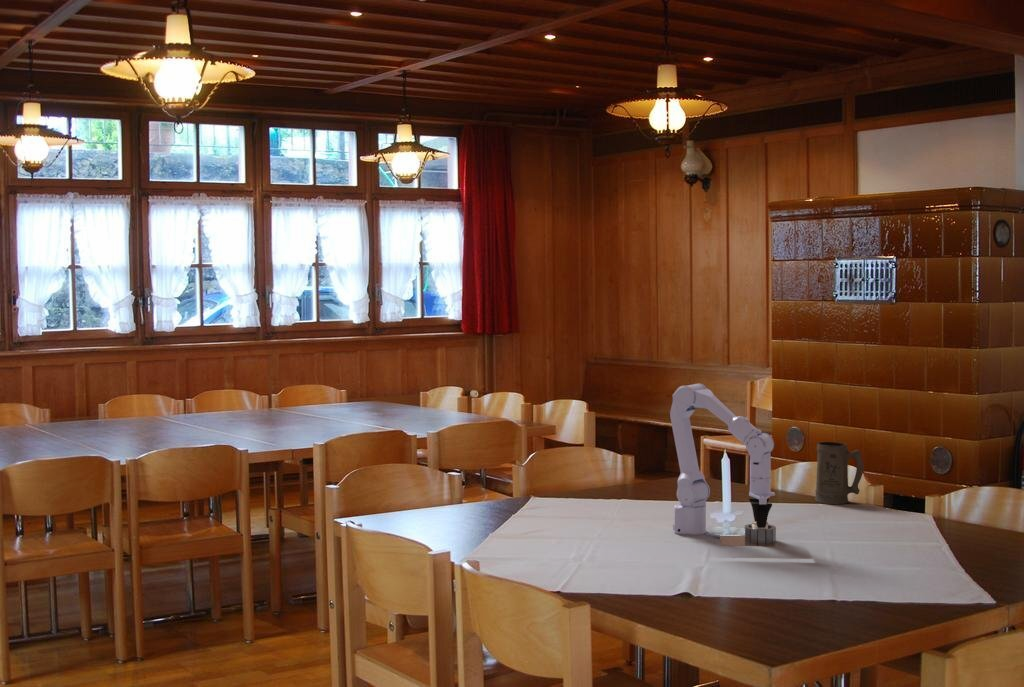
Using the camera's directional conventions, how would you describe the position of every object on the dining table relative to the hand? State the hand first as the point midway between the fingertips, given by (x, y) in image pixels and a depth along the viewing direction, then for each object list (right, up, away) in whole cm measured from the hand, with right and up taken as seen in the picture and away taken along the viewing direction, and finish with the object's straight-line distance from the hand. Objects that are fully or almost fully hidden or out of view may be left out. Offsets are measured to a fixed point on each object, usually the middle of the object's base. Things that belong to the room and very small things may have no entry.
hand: (760, 525), depth 327 cm
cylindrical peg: (0, -4, 0) cm, 4 cm away
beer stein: (+39, -2, +62) cm, 73 cm away
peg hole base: (-3, -5, +1) cm, 6 cm away
